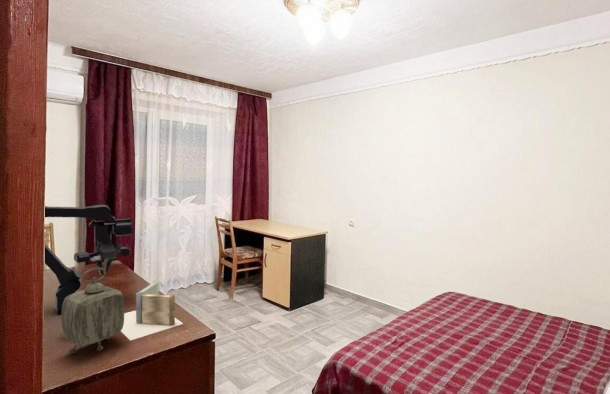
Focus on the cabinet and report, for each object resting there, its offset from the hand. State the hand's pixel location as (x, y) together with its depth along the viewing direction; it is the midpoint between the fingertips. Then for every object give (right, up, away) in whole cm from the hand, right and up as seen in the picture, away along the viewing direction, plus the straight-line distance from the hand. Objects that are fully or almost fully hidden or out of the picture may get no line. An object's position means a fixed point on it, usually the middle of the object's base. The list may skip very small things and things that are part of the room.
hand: (103, 275), depth 136 cm
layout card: (+23, -14, -13) cm, 30 cm away
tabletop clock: (+17, -15, -33) cm, 40 cm away
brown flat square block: (+29, -14, -15) cm, 35 cm away
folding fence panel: (+22, -12, -9) cm, 27 cm away
